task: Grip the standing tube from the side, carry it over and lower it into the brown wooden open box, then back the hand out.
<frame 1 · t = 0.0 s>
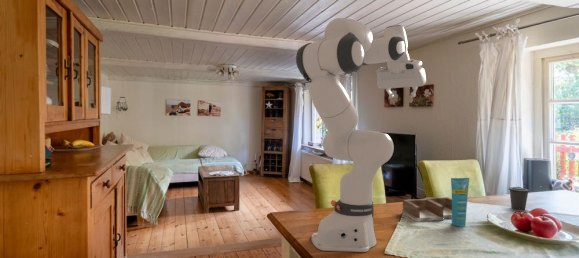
hand: (402, 97, 138), 52 cm above the table, tool tilted 20°, fingers open, 8 cm apart
coffee cup: (518, 208, 153), on the table
tube: (459, 225, 130), on the table
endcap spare: (442, 214, 144), on the table
brown wooden open box: (422, 216, 140), on the table
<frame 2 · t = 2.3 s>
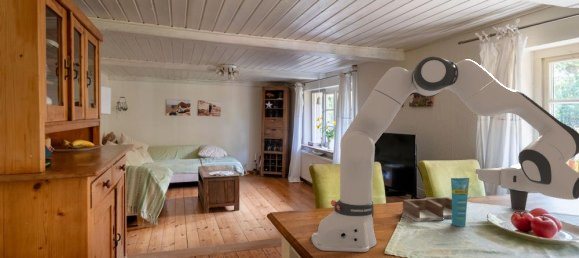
hand: (487, 170, 117), 24 cm above the table, tool horizontal, fingers open, 8 cm apart
nothing on the table moved.
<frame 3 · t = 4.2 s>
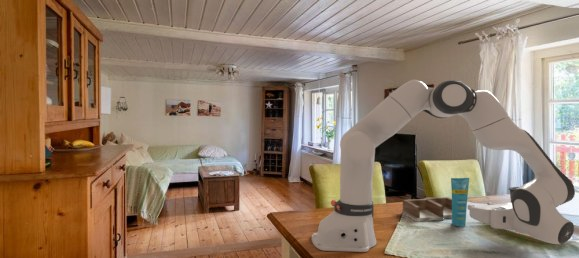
hand: (479, 205, 120), 10 cm above the table, tool horizontal, fingers open, 8 cm apart
nothing on the table moved.
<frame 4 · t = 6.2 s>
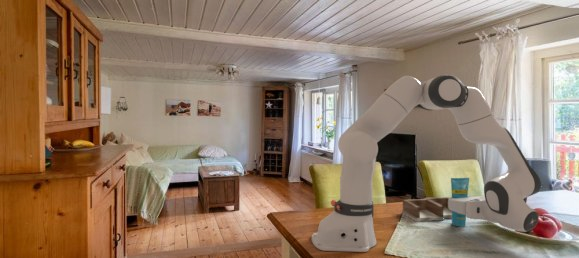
hand: (457, 198, 130), 11 cm above the table, tool horizontal, fingers closed on tube, 6 cm apart
tube: (459, 225, 130), on the table, touching gripper
everything else where it was.
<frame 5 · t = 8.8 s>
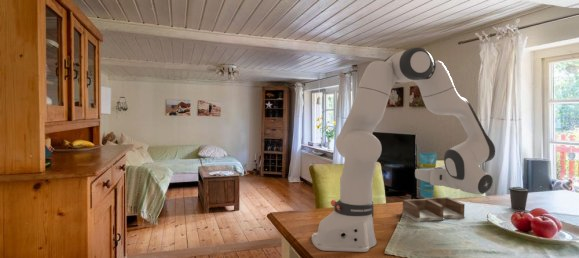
hand: (426, 170, 139), 20 cm above the table, tool horizontal, fingers closed on tube, 6 cm apart
tube: (427, 197, 138), point 9 cm above the table, touching gripper
everything else where it was.
when the fingers open (13 cm above the table, at t = 11.3 s): tube moves 2 cm, resting on brown wooden open box.
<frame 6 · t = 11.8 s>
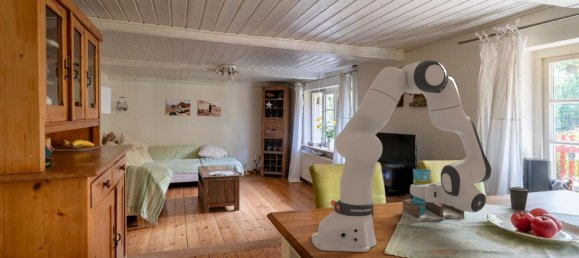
hand: (421, 185, 141), 13 cm above the table, tool horizontal, fingers open, 8 cm apart
tube: (418, 213, 140), point 1 cm above the table, touching brown wooden open box, gripper
everything else where it was.
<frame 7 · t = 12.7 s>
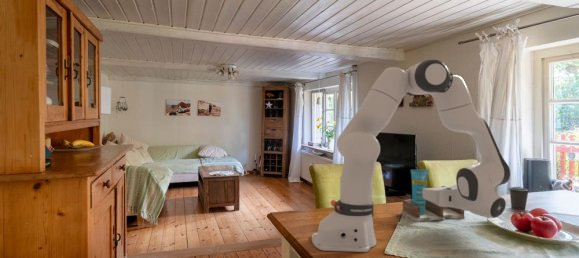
hand: (433, 188, 134), 14 cm above the table, tool horizontal, fingers open, 8 cm apart
tube: (418, 213, 140), point 1 cm above the table, touching brown wooden open box
everything else where it was.
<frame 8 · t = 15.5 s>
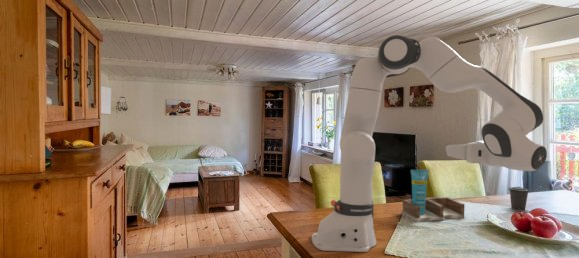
hand: (457, 148, 119), 32 cm above the table, tool horizontal, fingers open, 8 cm apart
nothing on the table moved.
at the end: tube inside the target area on the brown wooden open box (1.8 cm from its centre), point 1.3 cm above the brown wooden open box's base; tube tilted 0°; the gripper is holding nothing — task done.
